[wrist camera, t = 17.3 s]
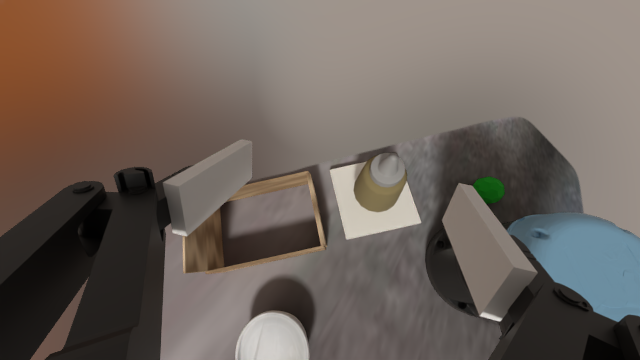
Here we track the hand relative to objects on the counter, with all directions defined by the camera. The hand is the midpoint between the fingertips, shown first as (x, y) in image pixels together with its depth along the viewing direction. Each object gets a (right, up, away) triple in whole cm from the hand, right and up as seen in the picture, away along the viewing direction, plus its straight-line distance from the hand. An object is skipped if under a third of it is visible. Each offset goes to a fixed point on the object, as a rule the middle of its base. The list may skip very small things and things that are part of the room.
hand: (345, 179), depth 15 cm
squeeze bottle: (+9, -3, +31) cm, 32 cm away
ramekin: (-8, -28, +25) cm, 38 cm away
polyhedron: (+29, -3, +31) cm, 42 cm away
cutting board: (+9, -3, +32) cm, 33 cm away
